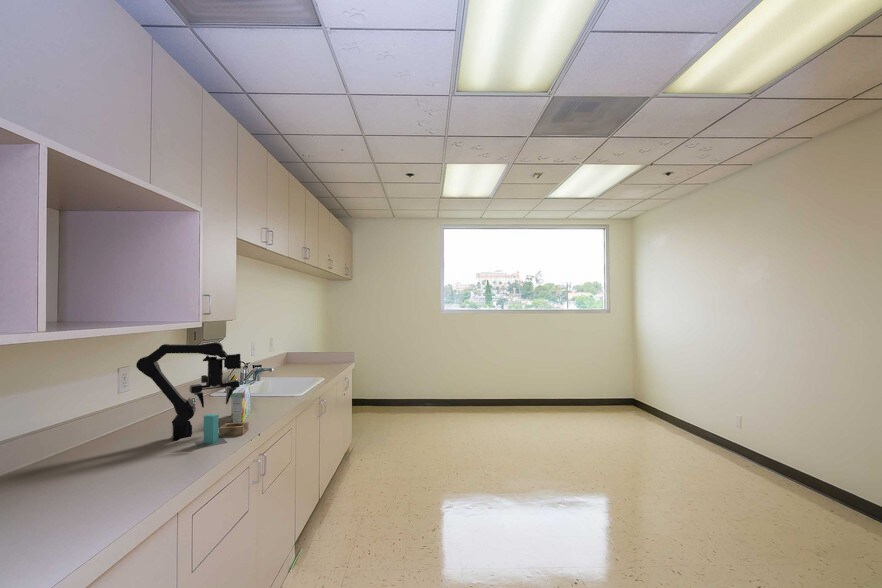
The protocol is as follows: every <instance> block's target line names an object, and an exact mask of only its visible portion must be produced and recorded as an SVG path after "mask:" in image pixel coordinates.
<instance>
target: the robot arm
mask: <svg viewBox="0 0 882 588" xmlns="http://www.w3.org/2000/svg"><path fill="white" fill-rule="evenodd" d="M167 354H201V355H205V358H203V359H202V362H207V375H201V378H200V382H201V383H197V384H191V385H189V393H190V394H194V395H195V396H197V398H198V399H199V402H200V405H201V408H202V409H204V407H205V401H204V392H202V391H204V390H211V389H219V388H226V394H225V404H226V405H227V404H228V403H229V401H230V400H231V394H232V393H233V391H234V390H236V388H237V387H240V385H241V384H240V381H239V380H237V379H231V380H227V382H223V375H224V373H223V369H226V370H237V369H238V370H239V369H240V370H241V369H242V361H241V360H242V359H241V353H235V354H228V353H227V352H226V351H225V350H224V346H223V344H222V343H221V342H219V341H212V342H207V343H201V344H169V343H163V344H162V345H160V346H159V347H158V348H157V349H155V350H154V351H153V352H151V353H150V354H148V355H147V356H143V357H141V358H139V359H138V360H137V362H136V366H135V367H136V369H137V370H138V371H140V372H141V373H142V374H143V375H145V376H146V377H148V378H150V379H151V380H152V381H153V382H154V384H155V385H156V386H157V387H158V388H159V390H160V391H161V392H162V393H163V394H164V396H165V397H166V398H167V399H168V400H169V402H170V403H171V404H172V405H173V409H174V411H175V413H176V415H175V417H174V418H173V419H172V421H171V424H172V425H171V426H172V427H171V429H172V430H171V431H172V432H171V439H172V441H173V442H174V441H179V440H181V439H187V438H192V435H193V425H192V423H191V419H192V418H193V417H194V415H195V414H196V412H197V409H196V408H197V407H196V404H195V403H194V402H193V401H192V399H191V398H190V397H189V398H187V399H186V398H184V396H182V394H180V393H179V391H178V390H177V389H176V388H175V386H174V385H173V384H172V383H171V381H170V380H169V379H168V378H167V377H166V375H164V373H163V372H162V370H161V367H160V364H159V362H158V361H159V360H161V359H162V358H163V357H164V356H166V355H167ZM223 367H224V368H223ZM202 384H205V385H202Z"/></svg>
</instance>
